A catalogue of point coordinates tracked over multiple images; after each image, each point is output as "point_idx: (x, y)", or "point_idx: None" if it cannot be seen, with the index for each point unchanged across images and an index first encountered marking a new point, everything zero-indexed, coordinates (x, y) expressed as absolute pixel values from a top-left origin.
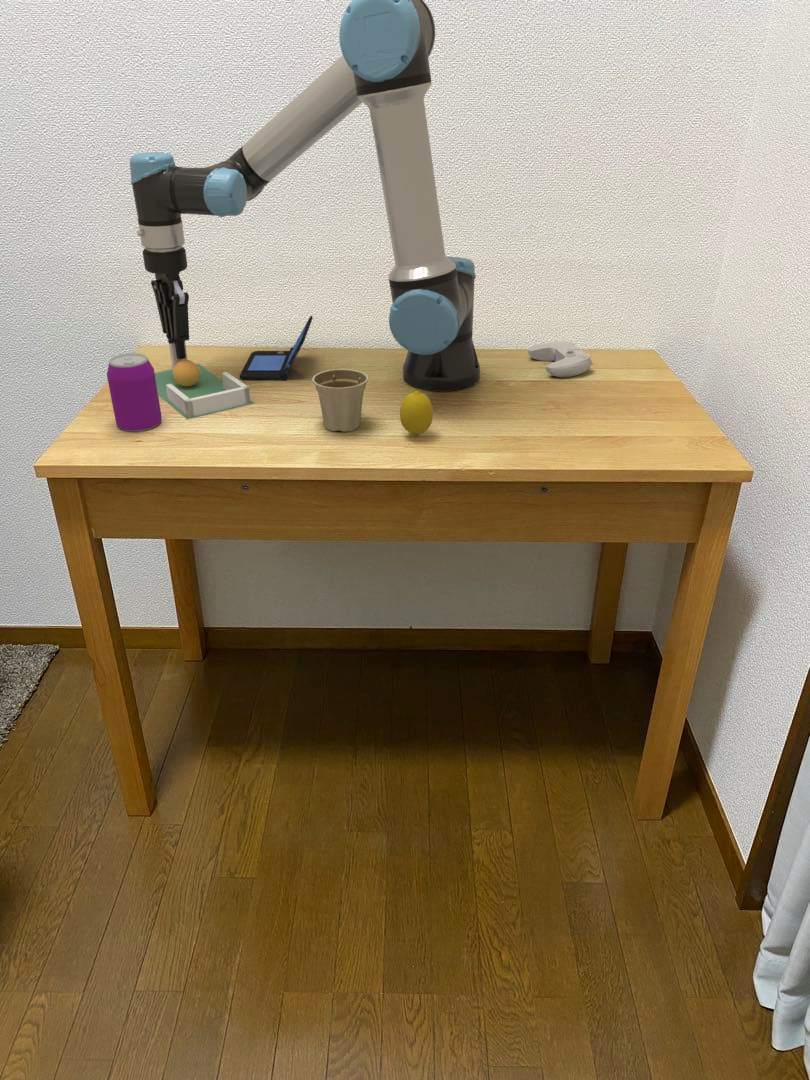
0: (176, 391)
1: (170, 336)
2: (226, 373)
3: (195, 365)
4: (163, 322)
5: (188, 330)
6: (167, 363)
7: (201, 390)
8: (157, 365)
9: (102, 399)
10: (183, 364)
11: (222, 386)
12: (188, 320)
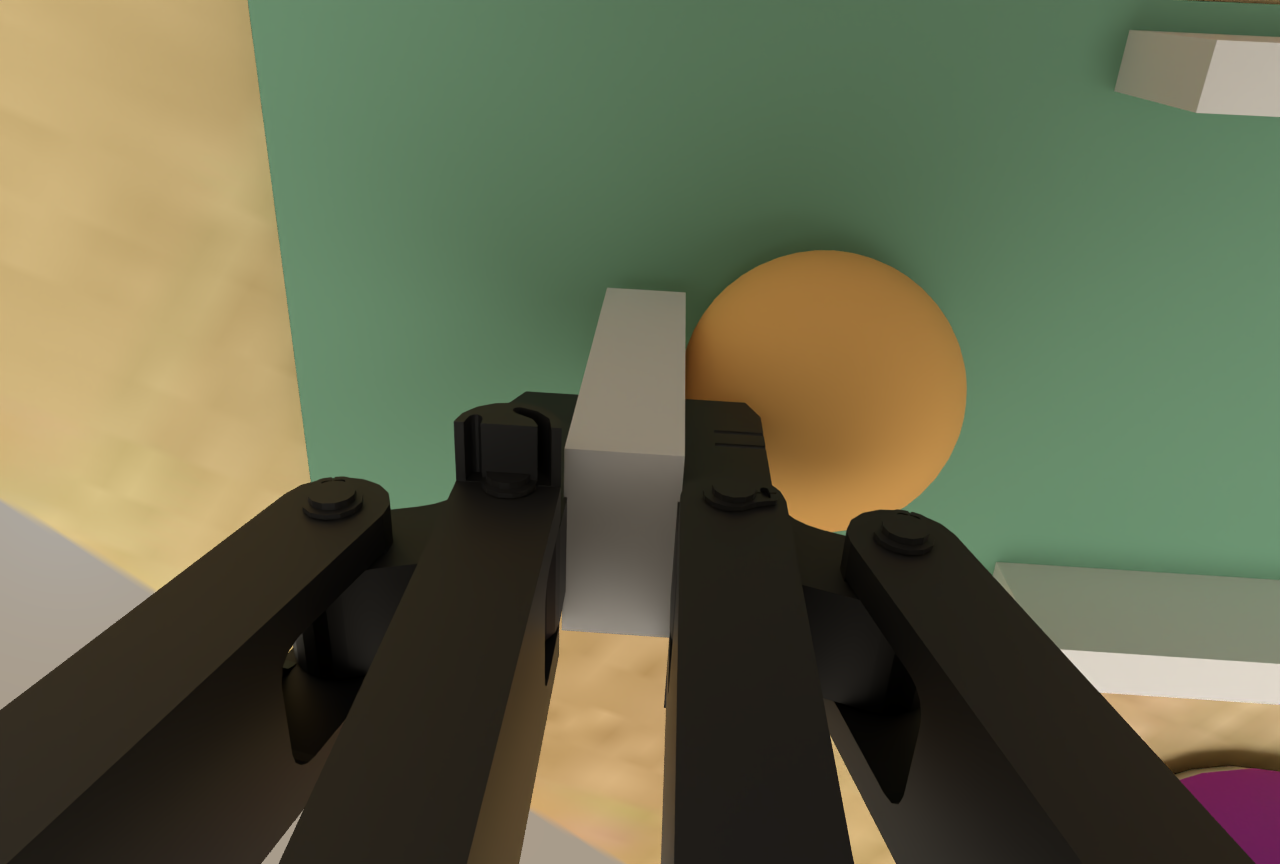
0: (1256, 687)
1: (556, 634)
2: (1267, 70)
3: (916, 346)
4: (320, 771)
5: (1042, 638)
6: (36, 209)
7: (1004, 302)
8: (60, 309)
9: (609, 846)
10: (892, 490)
11: (1070, 78)
12: (1201, 805)
